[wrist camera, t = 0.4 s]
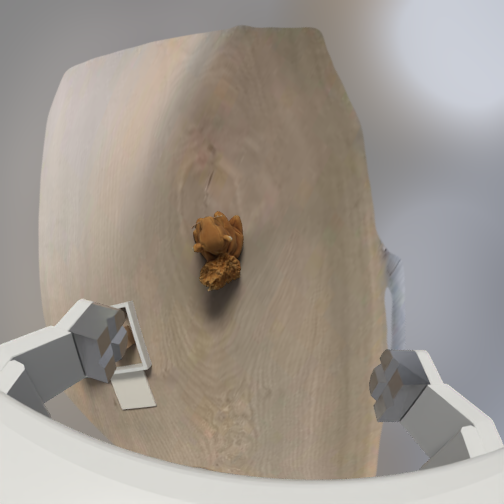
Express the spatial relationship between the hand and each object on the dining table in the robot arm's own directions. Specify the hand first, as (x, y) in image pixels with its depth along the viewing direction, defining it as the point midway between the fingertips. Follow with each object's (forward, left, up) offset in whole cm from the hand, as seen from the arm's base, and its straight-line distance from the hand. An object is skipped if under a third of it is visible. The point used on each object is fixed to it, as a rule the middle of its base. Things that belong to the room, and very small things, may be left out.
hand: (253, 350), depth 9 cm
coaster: (-19, +31, -53) cm, 64 cm away
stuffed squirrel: (+6, +3, -53) cm, 53 cm away
